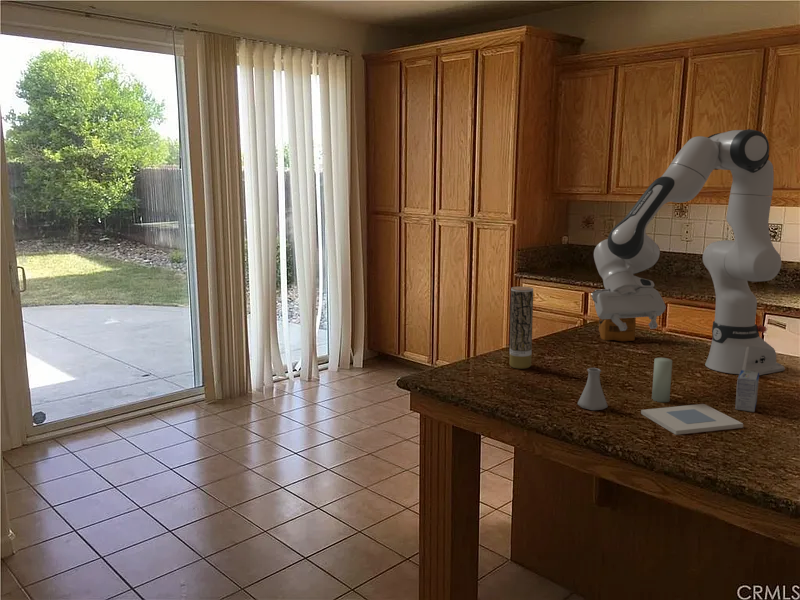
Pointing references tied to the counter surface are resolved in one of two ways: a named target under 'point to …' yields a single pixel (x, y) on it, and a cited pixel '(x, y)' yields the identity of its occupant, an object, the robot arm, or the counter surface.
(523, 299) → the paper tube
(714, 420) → the card
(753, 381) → the medicine box
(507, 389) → the counter surface
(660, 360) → the pale green cylinder
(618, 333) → the coffee package
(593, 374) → the flask
